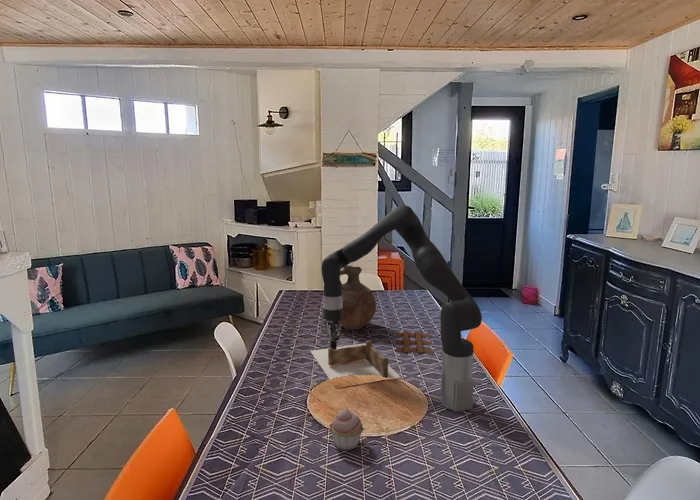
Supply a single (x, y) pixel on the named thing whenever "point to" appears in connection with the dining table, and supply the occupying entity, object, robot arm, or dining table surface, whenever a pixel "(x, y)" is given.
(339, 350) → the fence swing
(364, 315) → the jug
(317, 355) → the card
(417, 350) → the decorative fence
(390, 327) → the dining table surface
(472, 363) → the robot arm
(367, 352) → the fence fixed
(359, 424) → the cupcake
